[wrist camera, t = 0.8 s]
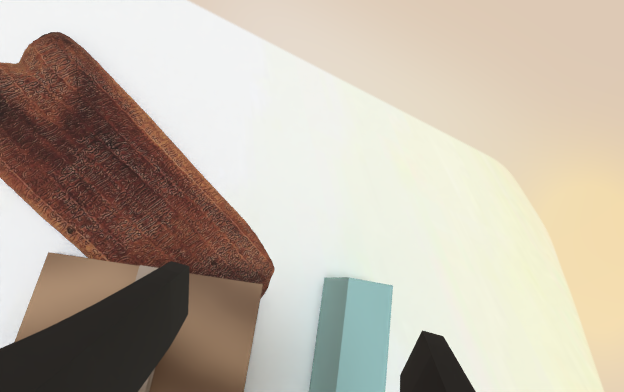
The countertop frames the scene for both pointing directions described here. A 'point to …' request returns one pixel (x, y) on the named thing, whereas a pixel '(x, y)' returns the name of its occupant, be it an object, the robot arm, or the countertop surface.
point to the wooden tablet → (113, 171)
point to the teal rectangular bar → (352, 337)
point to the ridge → (191, 337)
